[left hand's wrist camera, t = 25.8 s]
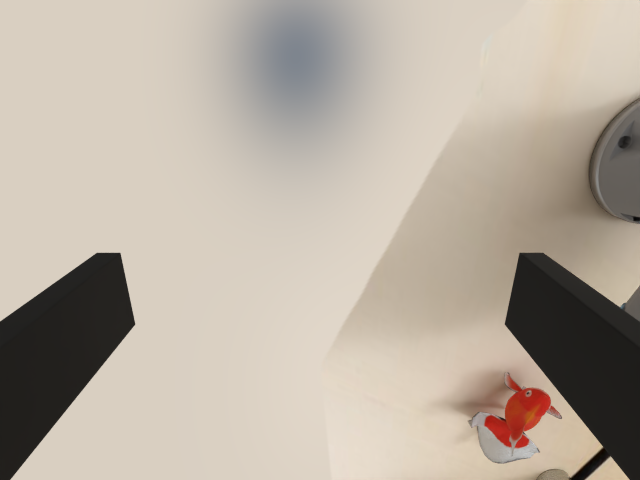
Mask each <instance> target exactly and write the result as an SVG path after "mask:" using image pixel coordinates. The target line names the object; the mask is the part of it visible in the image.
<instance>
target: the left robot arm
mask: <svg viewBox="0 0 640 480" xmlns="http://www.w3.org/2000/svg"><path fill="white" fill-rule="evenodd" d="M589 178H590V186H591V189H592V193H593V195H594V197H595V199H596V200H597V202H598V203H599V205H600V206H601V207H602V208H603V209H604V210H606V211H607V212H608V213H610V214H612V215H614V216H616V217H618V218H621V219H623V220H626V221H628V222H632V223H637V224H640V99H638V100H637V101H635V102H633V103H632V104H631V105H629V106H628V107H626V108H625V109H624V110H623V111H622V112H620V113H619V114H618V115H617V116H616V117H615V118H614V119H613V120H612V122H611V123H610V124H609V125H608V126H607V128H606V129H605V130H604V132H603V134H602V135H601V137H600V139H599V140H598V142H597V144H596V147H595V149H594V152H593V155H592V158H591V163H590V171H589ZM134 325H135V321H134V316H133V311H132V307H131V302H130V297H129V292H128V287H127V283H126V278H125V273H124V268H123V263H122V259H121V254H120V253H96V254H95V255H93V256H92V257H91V258H89V259H88V260H86V261H85V262H84V263H82V264H81V265H79V266H78V267H76V268H75V269H74V270H72V271H71V272H69V273H68V274H67V275H65V276H64V277H62V278H61V279H60V280H58V281H57V282H55V283H54V284H52V285H51V286H50V287H48V288H47V289H45V290H44V291H43V292H41V293H40V294H38V295H37V296H36V297H34V298H33V299H31V300H30V301H29V302H27V303H26V304H24V305H23V306H21V307H20V308H19V309H17V310H16V311H14V312H13V313H12V314H10V315H9V316H7V317H6V318H5V319H3V320H2V321H0V480H10V479H11V478H12V477H13V476H14V474H15V473H16V472H17V471H18V469H19V468H20V467H21V466H22V464H23V463H24V462H25V461H26V459H27V458H28V457H29V456H30V454H31V453H32V452H33V451H34V449H35V448H36V447H37V446H38V445H39V443H40V442H41V441H42V440H43V438H44V437H45V436H46V435H47V433H48V432H49V431H50V430H51V428H52V427H53V426H54V425H55V423H56V422H57V421H58V420H59V418H60V417H61V416H62V415H63V413H64V412H65V411H66V410H67V408H68V407H69V406H70V405H71V404H72V402H73V401H74V400H75V398H76V397H77V396H78V395H79V394H80V392H81V391H82V390H83V389H84V387H85V386H86V385H87V384H88V382H89V381H90V380H91V379H92V377H93V376H94V375H95V374H96V372H97V371H98V370H99V369H100V367H101V366H102V365H103V364H104V362H105V361H106V360H107V359H108V358H109V356H110V355H111V354H112V352H113V351H114V350H115V349H116V348H117V346H118V345H119V344H120V343H121V341H122V340H123V339H124V338H125V336H126V335H127V334H128V333H129V331H130V330H131V329H132V328H133V326H134ZM505 325H506V326H507V328H508V329H509V330H510V331H511V333H512V334H513V335H514V336H515V338H516V339H517V340H518V341H519V343H520V344H521V345H522V346H523V348H524V349H525V350H526V351H527V353H528V354H529V355H530V356H531V358H532V359H533V360H534V361H535V363H536V364H537V365H538V366H539V367H540V369H541V370H542V371H543V372H544V374H545V375H546V376H547V377H548V379H549V380H550V381H551V382H552V384H553V385H554V386H555V387H556V389H557V390H558V391H559V392H560V394H561V395H562V396H563V397H564V399H565V400H566V401H567V402H568V404H569V405H570V406H571V407H572V408H573V410H574V411H575V412H576V413H577V415H578V416H579V417H580V418H581V420H582V421H583V422H584V423H585V425H586V426H587V427H588V428H589V430H590V431H591V432H592V433H593V435H594V436H595V437H596V438H597V440H598V441H599V442H600V443H601V445H602V446H603V447H604V448H605V450H606V451H607V452H608V453H609V454H610V456H611V457H612V458H613V459H614V461H615V462H616V463H617V464H618V466H619V467H620V468H621V469H622V471H623V472H624V473H625V474H626V476H627V477H628V478H629V479H630V480H640V286H639V287H638V289H637V290H636V291H635V292H634V294H633V295H632V296H631V298H630V299H629V300H628V301H627V303H624V304H622V306H621V307H619V306H617V305H616V304H614V303H613V302H611V301H610V300H609V299H607V298H606V297H604V296H603V295H602V294H600V293H599V292H597V291H596V290H595V289H593V288H592V287H590V286H589V285H588V284H586V283H585V282H583V281H582V280H580V279H579V278H578V277H576V276H575V275H573V274H572V273H571V272H569V271H568V270H566V269H565V268H564V267H562V266H561V265H559V264H558V263H557V262H555V261H554V260H552V259H551V258H549V257H548V256H547V255H545V254H544V253H520V254H519V259H518V263H517V268H516V273H515V278H514V283H513V287H512V292H511V297H510V302H509V307H508V311H507V316H506V321H505Z"/></svg>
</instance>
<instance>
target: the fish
mask: <svg viewBox="0 0 640 480" xmlns="http://www.w3.org/2000/svg"><path fill="white" fill-rule="evenodd" d="M504 381H505V385H506V386H507V387H509V388H510V389H511V390H513V391H515V392H517V393H515V394H514V395H513V396H512V397H511V398H510V399H509V400H508V402H507V405H506V408H505V419H506V420H505V419H503V418H501V417H498V416H495V415H493V414H489V413H483V412H478V413H477V414H476V415H475V416H474V417H473V418H472V420H469V421H468V422H469V424H470V426H471V427H474V426H477V427H478V435H479V443H480V446H481V448H482V450H483V452H484V454H485V456H486V457H487V458H488V459H490V460H491V461H492V462H495V463H507V462H512V461H516V460H520V459H526V458H530V457H531V456H532V455H533V454H534V453H537V452H539V450H538V448H537V447H536V446H535V444H534V443H533V442H532V441H531V440H530V439H529V437H528V436H527V435H526V434H525V433H524V432H523V431H527V430H529V429H531V428H533V427H534V426H535V425H536V424H537V423H538V422H539V421H540V419H541V417H542V416H543V415H544V414H545V412H547V413H549V414H551V415H553V416H555V417H557V418H559V419H562V417H561V415H560V413H559V412H558V411H557V410H556V409H555V408H554V407H553V406H551V400H550V397H549V395H548V394H547V393H546V392H544V391H543V390H541V389H538V388H525V387H523V388H522V389H521V388H520V387H519V386H518V385H517V384H516V383H515V382H514V381H513V380H512V379H511V377H510V376H509V373H505V375H504Z"/></svg>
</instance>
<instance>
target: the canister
mask: <svg viewBox="0 0 640 480" xmlns="http://www.w3.org/2000/svg"><path fill="white" fill-rule="evenodd" d="M537 480H571V478H570V477H569V475H568V474H567V473H566V472H565V471H562V470H558V469H554V470H549V471H546V472H544V473H542V474H541V475H540V476H539V477H538V478H537Z"/></svg>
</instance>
